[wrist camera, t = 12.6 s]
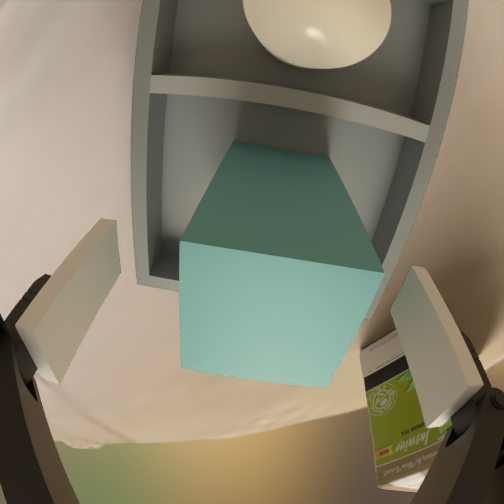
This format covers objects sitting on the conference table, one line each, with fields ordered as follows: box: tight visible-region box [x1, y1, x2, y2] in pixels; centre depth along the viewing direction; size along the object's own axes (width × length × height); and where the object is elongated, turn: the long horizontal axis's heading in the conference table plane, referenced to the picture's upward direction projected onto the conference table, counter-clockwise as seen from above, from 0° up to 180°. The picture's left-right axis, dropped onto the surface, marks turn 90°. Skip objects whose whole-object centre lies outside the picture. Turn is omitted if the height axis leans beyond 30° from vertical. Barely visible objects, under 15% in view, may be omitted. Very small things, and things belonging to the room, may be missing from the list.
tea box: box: [360, 329, 452, 492], centre depth 24 cm, size 15×10×15 cm
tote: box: [131, 0, 469, 320], centre depth 17 cm, size 17×23×4 cm
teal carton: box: [179, 141, 385, 387], centre depth 16 cm, size 6×6×12 cm
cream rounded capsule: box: [243, 0, 391, 69], centre depth 12 cm, size 6×6×7 cm
